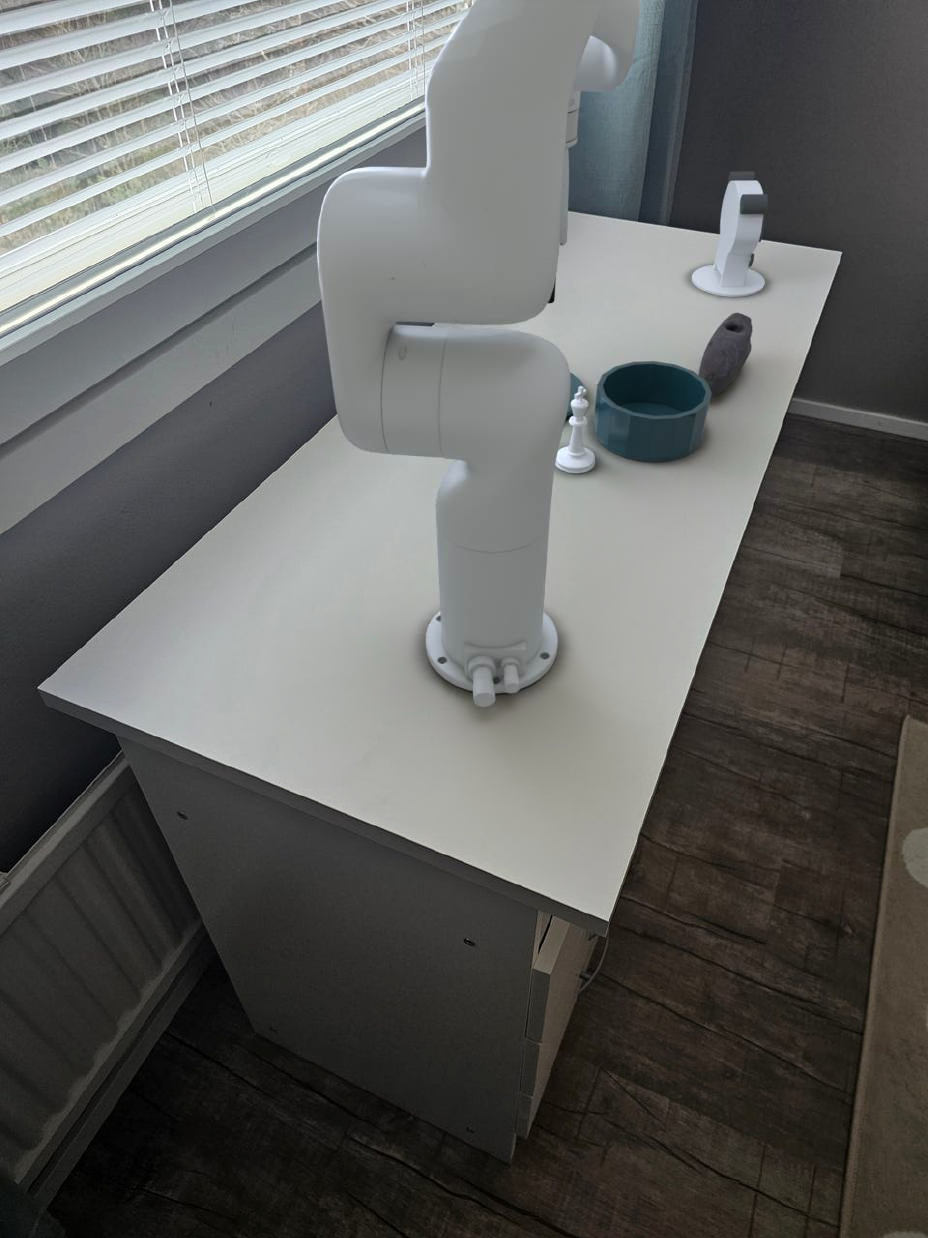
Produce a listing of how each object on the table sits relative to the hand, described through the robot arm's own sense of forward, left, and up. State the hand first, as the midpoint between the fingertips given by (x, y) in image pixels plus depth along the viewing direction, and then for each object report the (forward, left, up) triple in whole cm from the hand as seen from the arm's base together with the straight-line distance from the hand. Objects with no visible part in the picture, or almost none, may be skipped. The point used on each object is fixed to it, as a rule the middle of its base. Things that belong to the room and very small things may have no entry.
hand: (535, 285), depth 106 cm
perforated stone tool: (+3, -26, -16) cm, 30 cm away
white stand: (+34, -35, -16) cm, 51 cm away
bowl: (-8, -14, -16) cm, 23 cm away
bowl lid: (+1, 0, -15) cm, 15 cm away
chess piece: (-14, -4, -16) cm, 22 cm away
